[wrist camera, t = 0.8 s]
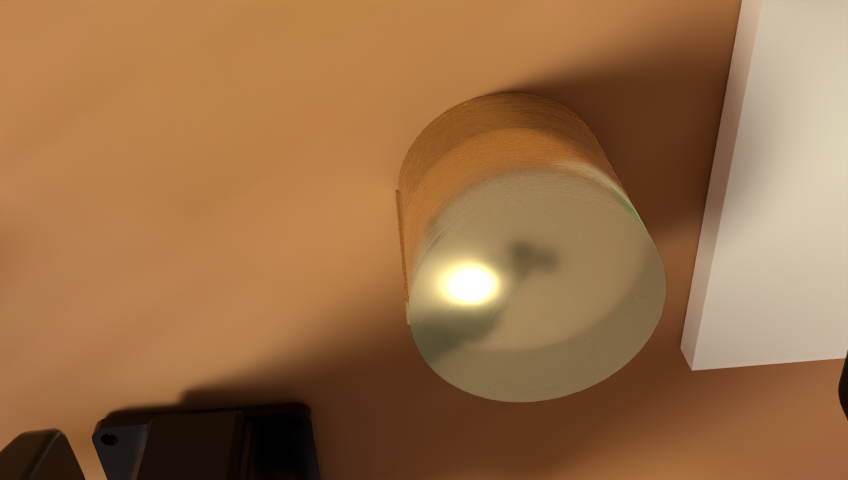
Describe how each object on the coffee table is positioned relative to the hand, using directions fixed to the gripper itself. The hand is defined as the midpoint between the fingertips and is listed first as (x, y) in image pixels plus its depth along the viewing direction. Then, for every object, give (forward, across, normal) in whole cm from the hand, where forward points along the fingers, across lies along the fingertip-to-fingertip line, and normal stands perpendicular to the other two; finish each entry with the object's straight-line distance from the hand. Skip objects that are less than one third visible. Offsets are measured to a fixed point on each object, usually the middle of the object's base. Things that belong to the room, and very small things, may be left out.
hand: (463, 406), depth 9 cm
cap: (+12, -2, +4) cm, 12 cm away
